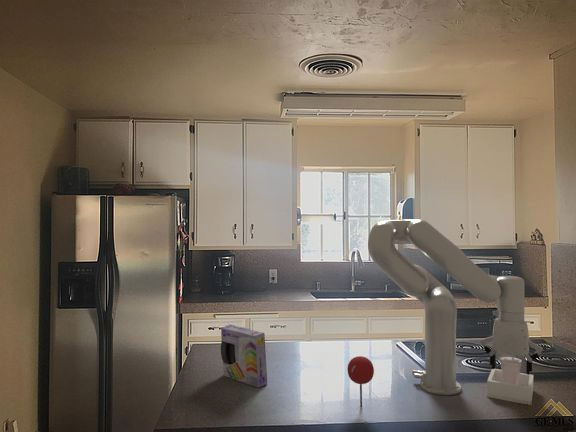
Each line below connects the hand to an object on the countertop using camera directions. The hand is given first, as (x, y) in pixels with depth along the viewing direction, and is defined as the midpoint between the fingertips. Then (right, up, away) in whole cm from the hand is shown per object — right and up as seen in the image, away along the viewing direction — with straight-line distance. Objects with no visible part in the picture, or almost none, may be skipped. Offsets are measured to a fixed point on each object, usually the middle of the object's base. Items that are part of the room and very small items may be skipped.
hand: (510, 370), depth 142 cm
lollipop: (-48, -8, -8) cm, 50 cm away
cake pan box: (-85, -8, +14) cm, 87 cm away
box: (0, -7, 0) cm, 7 cm away
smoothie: (0, -7, 0) cm, 6 cm away
